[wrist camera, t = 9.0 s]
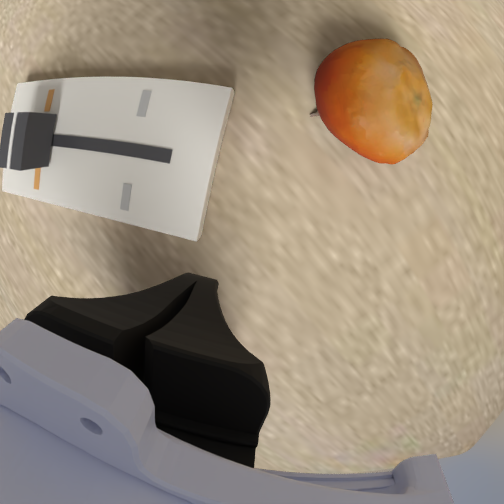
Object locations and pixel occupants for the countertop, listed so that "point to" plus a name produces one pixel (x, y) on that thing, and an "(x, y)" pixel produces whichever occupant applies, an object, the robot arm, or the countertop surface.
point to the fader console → (127, 149)
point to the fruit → (374, 99)
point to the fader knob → (26, 140)
